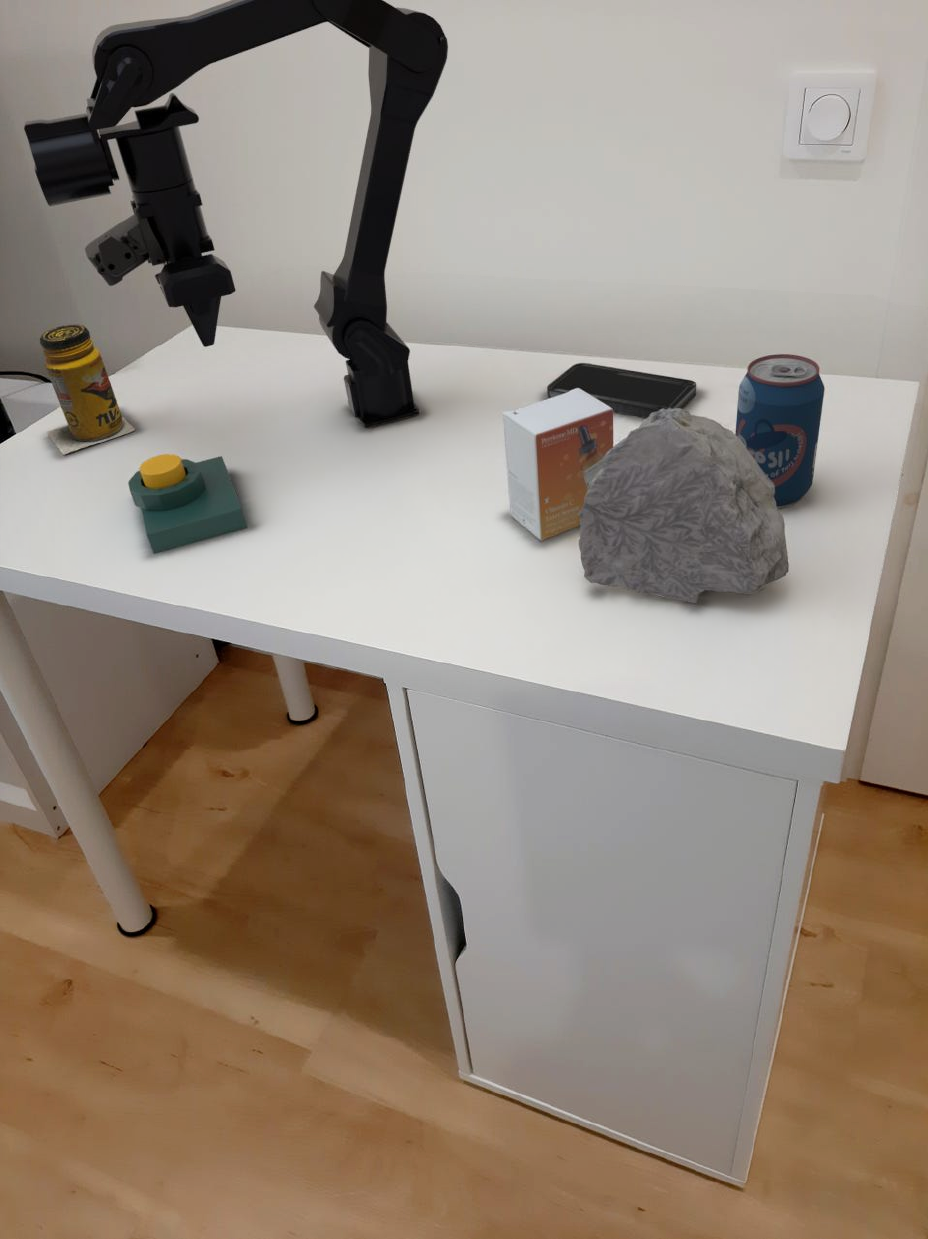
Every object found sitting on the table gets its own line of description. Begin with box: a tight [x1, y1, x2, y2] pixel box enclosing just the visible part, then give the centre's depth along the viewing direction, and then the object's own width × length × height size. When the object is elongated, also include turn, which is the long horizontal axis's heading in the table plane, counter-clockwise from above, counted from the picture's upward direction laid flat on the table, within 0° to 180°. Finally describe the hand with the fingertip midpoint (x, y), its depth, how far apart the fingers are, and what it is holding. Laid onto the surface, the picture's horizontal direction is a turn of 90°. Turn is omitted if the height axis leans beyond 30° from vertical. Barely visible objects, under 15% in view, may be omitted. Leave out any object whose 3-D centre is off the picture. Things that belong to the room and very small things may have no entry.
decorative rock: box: [578, 408, 790, 604], centre depth 75 cm, size 16×7×15 cm, turn 68°
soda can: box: [734, 353, 825, 509], centre depth 85 cm, size 7×7×12 cm
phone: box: [546, 362, 697, 419], centre depth 107 cm, size 8×1×15 cm
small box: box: [502, 388, 614, 541], centre depth 86 cm, size 8×6×10 cm
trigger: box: [139, 453, 186, 489], centre depth 94 cm, size 4×4×2 cm
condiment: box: [39, 323, 136, 456], centre depth 110 cm, size 7×8×12 cm
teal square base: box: [127, 455, 248, 555], centre depth 95 cm, size 10×12×4 cm
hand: (208, 344), depth 100 cm, fingers closed
